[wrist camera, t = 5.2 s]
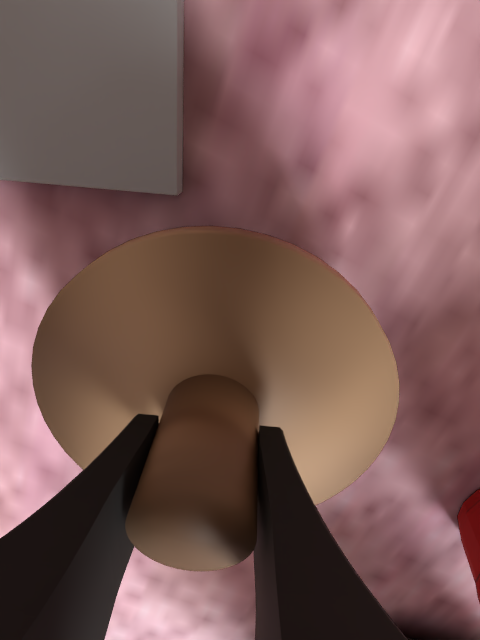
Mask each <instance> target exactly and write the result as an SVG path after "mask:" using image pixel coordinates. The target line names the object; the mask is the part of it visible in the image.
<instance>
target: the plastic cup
mask: <svg viewBox="0 0 480 640" xmlns="http://www.w3.org/2000/svg"><path fill="white" fill-rule="evenodd" d="M457 518H458V523H459V530H460V535H461V541H462V544H463V547H464V550H465V553H466V556H467V559H468V562H469V565H470V568H471V571H472V574H473V577H474V580H475V584H476V589H477V595H478V600H479V603H480V489H479V490H477V491H476V492H475V493H474V494H473V495H471V496H470V497H469V498H468V499H467V500H466V501H465V502H464V503H463V505H462V507H461V509H460V512H459V514H458V516H457Z"/></svg>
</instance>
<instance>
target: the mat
mask: <svg viewBox="0 0 480 640" xmlns="http://www.w3.org/2000/svg"><path fill="white" fill-rule="evenodd" d="M183 61H184V0H0V180H8V181H20V182H31V183H42V184H53V185H65V186H76V187H87V188H99V189H110V190H121V191H132V192H144V193H155V194H166V195H178V194H180V193H182V175H183Z"/></svg>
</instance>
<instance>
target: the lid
mask: <svg viewBox="0 0 480 640" xmlns="http://www.w3.org/2000/svg"><path fill="white" fill-rule="evenodd" d="M31 366H32V379H33V387H34V391H35V395H36V399H37V403H38V406H39V408H40V411H41V413H42V416H43V418H44V420H45V422H46V424H47V426H48V427H49V429H50V431H51V433H52V434H53V436H54V437H55V439H56V440H57V441H58V443H59V444H60V445H61V447H62V448H63V449H64V451H65V452H66V453H67V454H68V455H69V456H70V457H71V458H72V459H73V460H74V461H75V462H76V463H77V465H79V466H80V467H81V468H82V469H83V470H84V469H85V468H86V467H87V466H88V465H89V464H90V463H91V462H92V461H93V460H94V459H95V458H96V457H97V456H98V455H99V454H100V453H101V452H102V451H103V450H104V449H105V448H106V447H107V446H108V445H109V444H110V443H111V442H112V441H113V440H114V439H115V438H116V437H117V436H118V435H119V433H120V432H121V431H122V430H123V429H124V428H125V427H126V426H127V425H128V424H129V422H130V421H131V420H132V419H133V418H134V417H135V416H136V415H137V414H148V415H158V416H159V425H158V428H157V431H156V434H155V437H154V439H153V442H152V445H151V448H150V451H149V454H148V457H147V460H146V463H145V465H144V468H143V471H142V474H141V477H140V480H139V483H138V486H137V489H136V491H135V494H134V497H133V500H132V503H131V506H130V509H129V512H128V515H127V518H126V521H125V529H126V533H127V536H128V538H129V539H130V541H131V542H132V544H133V545H134V546H135V547H136V548H137V549H138V550H139V551H140V552H141V553H143V554H144V555H146V556H147V557H149V558H150V559H152V560H154V561H156V562H159V563H161V564H163V565H166V566H169V567H173V568H177V569H182V570H189V571H213V570H220V569H224V568H228V567H231V566H233V565H236V564H238V563H240V562H241V561H243V560H244V559H246V558H247V557H248V556H249V555H250V554H251V553H252V551H253V550H254V548H255V545H256V541H257V502H258V433H259V425H261V426H271V427H280V428H281V429H282V430H283V433H284V436H285V439H286V442H287V445H288V448H289V450H290V453H291V456H292V458H293V460H294V463H295V465H296V467H297V470H298V472H299V474H300V476H301V478H302V480H303V483H304V485H305V487H306V489H307V491H308V493H309V495H310V497H311V499H312V501H313V503H314V505H317V504H319V503H322V502H324V501H326V500H327V499H329V498H331V497H333V496H334V495H336V494H338V493H339V492H341V491H342V490H344V489H345V488H346V487H348V486H349V485H350V484H352V483H353V482H354V481H356V480H357V479H358V478H359V477H360V476H361V475H362V474H363V473H364V472H365V471H366V470H367V469H368V468H369V467H370V465H371V464H372V463H373V462H374V460H375V459H376V458H377V457H378V455H379V454H380V452H381V451H382V449H383V447H384V445H385V444H386V442H387V440H388V438H389V436H390V433H391V431H392V428H393V425H394V423H395V419H396V414H397V409H398V404H399V378H398V371H397V364H396V361H395V358H394V355H393V352H392V349H391V346H390V343H389V341H388V339H387V337H386V335H385V333H384V331H383V329H382V328H381V326H380V324H379V322H378V320H377V318H376V317H375V315H374V313H373V311H372V310H371V308H370V307H369V305H368V304H367V303H366V301H365V300H364V299H363V298H362V296H361V295H360V294H359V292H358V291H357V290H356V289H355V288H354V287H353V286H352V285H351V284H350V283H349V282H348V281H347V280H346V279H345V278H344V277H343V276H342V275H341V274H340V273H339V272H337V271H336V270H335V269H333V268H332V267H330V266H329V265H328V264H326V263H325V262H324V261H322V260H321V259H319V258H318V257H316V256H314V255H313V254H311V253H309V252H307V251H305V250H303V249H301V248H299V247H297V246H296V245H294V244H291V243H288V242H286V241H283V240H280V239H278V238H275V237H272V236H269V235H266V234H262V233H258V232H253V231H249V230H244V229H240V228H230V227H219V226H191V227H179V228H174V229H168V230H162V231H156V232H153V233H150V234H147V235H144V236H141V237H138V238H135V239H131V240H129V241H127V242H125V243H123V244H121V245H119V246H117V247H115V248H113V249H111V250H109V251H108V252H106V253H105V254H103V255H102V256H100V257H99V258H98V259H96V260H95V261H93V262H92V263H91V264H89V265H88V266H87V267H86V268H84V269H83V270H82V271H81V272H79V273H78V274H77V275H76V276H75V277H74V278H73V279H72V280H71V281H70V282H69V283H68V284H67V285H66V286H65V287H64V288H63V289H62V290H61V291H60V292H59V293H58V295H57V296H56V298H55V299H54V300H53V302H52V303H51V304H50V306H49V307H48V309H47V311H46V313H45V315H44V317H43V319H42V321H41V323H40V325H39V327H38V331H37V335H36V338H35V342H34V346H33V354H32V365H31Z"/></svg>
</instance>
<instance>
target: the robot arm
mask: <svg viewBox="0 0 480 640" xmlns="http://www.w3.org/2000/svg"><path fill="white" fill-rule="evenodd" d="M158 425H159V416H158V415H148V414H137V415H136V416H135V417H134V418H133V419H132V420H131V421H130V422H129V424H128V425H127V426H126V427H125V428H124V429H123V430H122V431H121V432H120V433H119V435H118V436H117V437H116V438H115V439H114V440H113V441H112V442H111V443H110V444H109V445H108V446H107V447H106V448H105V449H104V450H103V451H102V452H101V453H100V454H99V455H98V456H97V457H96V458H95V459H94V460H93V461H92V462H91V463H90V464H89V465H88V466H87V467H86V468H85V469H84V470H83V471H82V472H81V473H80V474H79V475H78V476H76V477H75V478H74V479H73V480H72V481H71V482H70V483H69V484H68V485H67V486H66V487H64V488H63V489H62V490H61V491H60V492H59V493H58V494H57V495H55V496H54V497H53V498H52V499H51V500H49V501H48V502H47V503H46V504H45V505H43V506H42V507H41V508H40V509H39V510H37V511H36V512H35V513H34V514H32V515H31V516H30V517H28V518H27V519H26V520H25V521H23V522H22V523H21V524H19V525H18V526H17V527H15V528H14V529H13V530H11V531H10V532H9V533H7V534H6V535H5V536H3V537H2V538H0V640H104V639H105V635H106V632H107V628H108V624H109V621H110V617H111V614H112V610H113V607H114V603H115V599H116V596H117V593H118V590H119V587H120V584H121V581H122V578H123V575H124V572H125V570H126V567H127V564H128V562H129V559H130V556H131V554H132V551H133V548H134V545H133V544H132V542H131V541H130V539H129V538H128V536H127V533H126V529H125V521H126V518H127V515H128V512H129V509H130V506H131V503H132V500H133V497H134V494H135V491H136V489H137V486H138V483H139V480H140V477H141V474H142V471H143V468H144V465H145V463H146V460H147V457H148V454H149V451H150V448H151V445H152V442H153V439H154V437H155V434H156V431H157V428H158ZM254 570H255V590H256V629H255V640H408V639H407V638H406V637H405V636H404V634H403V633H402V632H401V631H400V629H399V628H398V627H397V626H396V625H395V623H394V622H393V621H392V620H391V618H390V617H389V616H388V614H387V613H386V612H385V610H384V609H383V608H382V606H381V605H380V604H379V602H378V601H377V600H376V598H375V597H374V596H373V594H372V593H371V592H370V590H369V589H368V588H367V586H366V585H365V584H364V583H363V581H362V580H361V578H360V577H359V576H358V574H357V573H356V571H355V570H354V568H353V567H352V565H351V564H350V562H349V561H348V559H347V558H346V556H345V555H344V553H343V552H342V550H341V549H340V547H339V546H338V544H337V542H336V541H335V539H334V538H333V536H332V534H331V533H330V531H329V529H328V528H327V526H326V524H325V523H324V521H323V519H322V517H321V515H320V514H319V512H318V510H317V508H316V506H315V505H314V503H313V501H312V499H311V497H310V495H309V493H308V491H307V489H306V487H305V485H304V483H303V480H302V478H301V476H300V474H299V472H298V470H297V467H296V465H295V463H294V460H293V458H292V456H291V453H290V450H289V448H288V445H287V442H286V439H285V436H284V433H283V430H282V429H281V428H280V427H271V426H261V425H259V433H258V502H257V541H256V545H255V548H254Z"/></svg>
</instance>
